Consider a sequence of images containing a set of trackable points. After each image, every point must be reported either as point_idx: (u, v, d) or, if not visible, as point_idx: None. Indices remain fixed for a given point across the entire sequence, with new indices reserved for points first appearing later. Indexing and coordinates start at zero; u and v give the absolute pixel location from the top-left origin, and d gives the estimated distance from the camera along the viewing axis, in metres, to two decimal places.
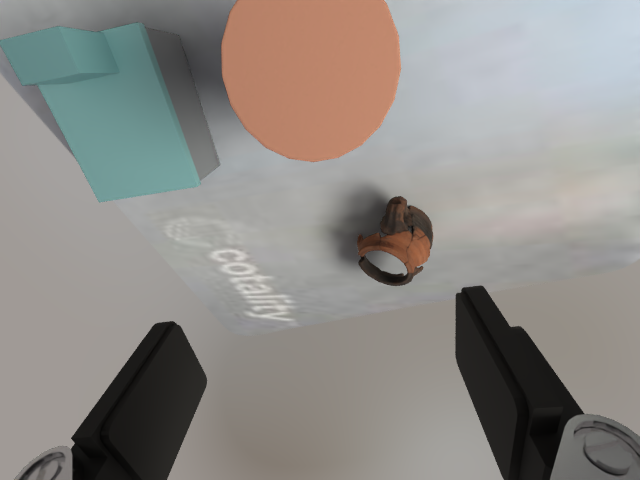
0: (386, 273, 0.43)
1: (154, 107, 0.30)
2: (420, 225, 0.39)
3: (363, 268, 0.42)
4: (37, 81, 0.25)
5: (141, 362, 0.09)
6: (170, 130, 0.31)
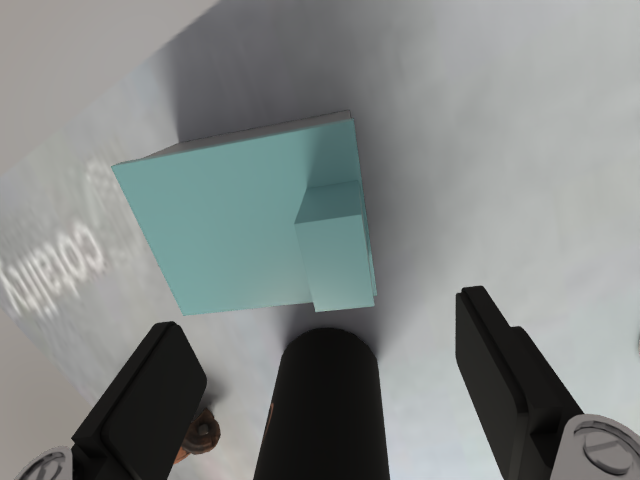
0: None
1: (281, 290, 0.22)
2: None
3: None
4: (301, 250, 0.15)
5: (141, 362, 0.09)
6: (253, 301, 0.23)
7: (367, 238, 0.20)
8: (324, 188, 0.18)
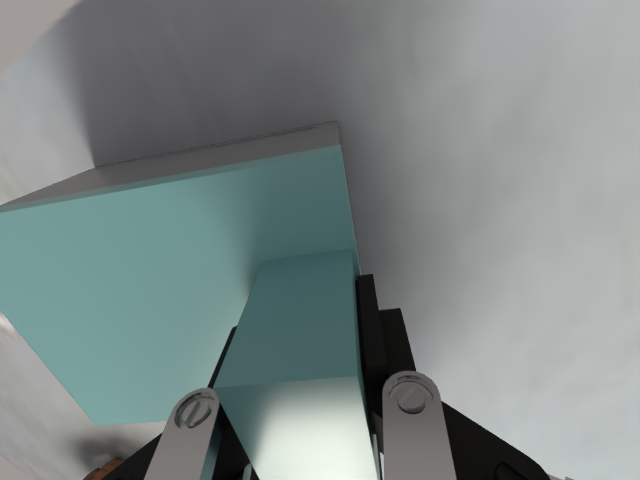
0: None
1: None
2: None
3: None
4: (236, 426, 0.07)
5: None
6: None
7: None
8: (292, 265, 0.10)
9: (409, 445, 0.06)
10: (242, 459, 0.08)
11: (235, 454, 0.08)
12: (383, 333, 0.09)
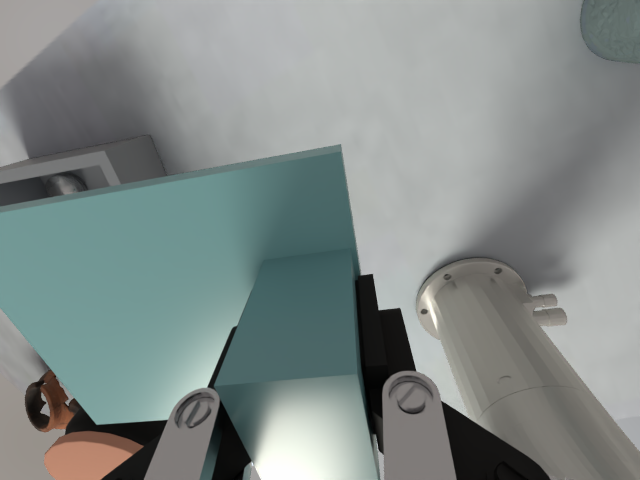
0: (38, 395, 0.48)
1: None
2: None
3: (31, 387, 0.46)
4: (236, 424, 0.07)
5: None
6: None
7: None
8: (292, 265, 0.10)
9: (409, 445, 0.06)
10: (242, 458, 0.08)
11: (235, 454, 0.08)
12: (383, 333, 0.09)
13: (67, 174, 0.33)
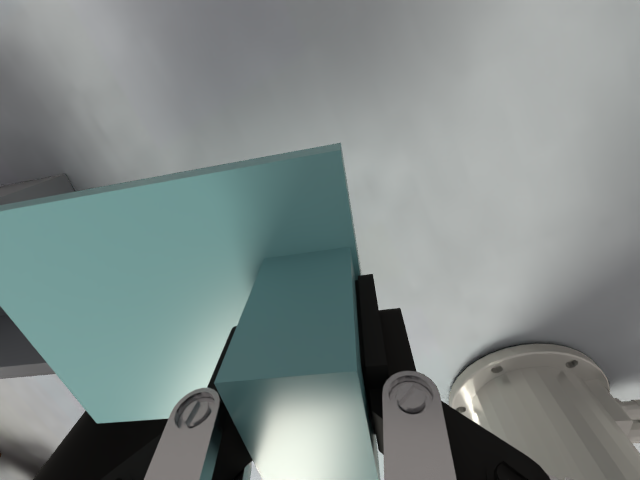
0: None
1: None
2: None
3: None
4: (236, 421, 0.07)
5: None
6: None
7: None
8: (292, 263, 0.10)
9: (409, 445, 0.06)
10: (242, 458, 0.08)
11: (235, 454, 0.08)
12: (383, 333, 0.09)
13: None
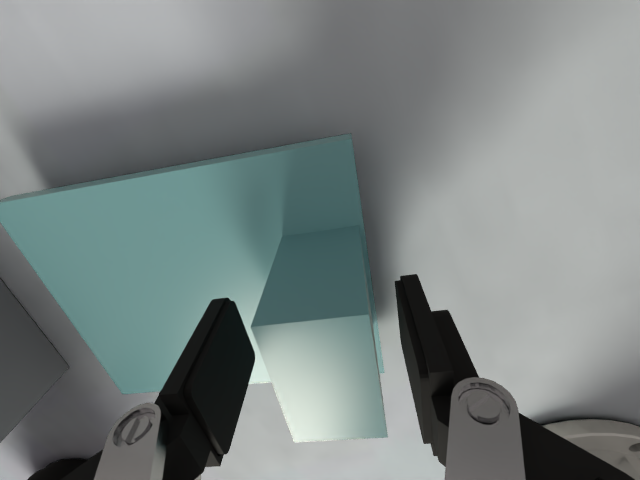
0: None
1: None
2: None
3: None
4: (267, 363, 0.09)
5: (207, 332, 0.10)
6: None
7: (371, 303, 0.14)
8: (308, 239, 0.12)
9: (476, 455, 0.06)
10: (186, 475, 0.08)
11: (183, 463, 0.08)
12: None
13: None
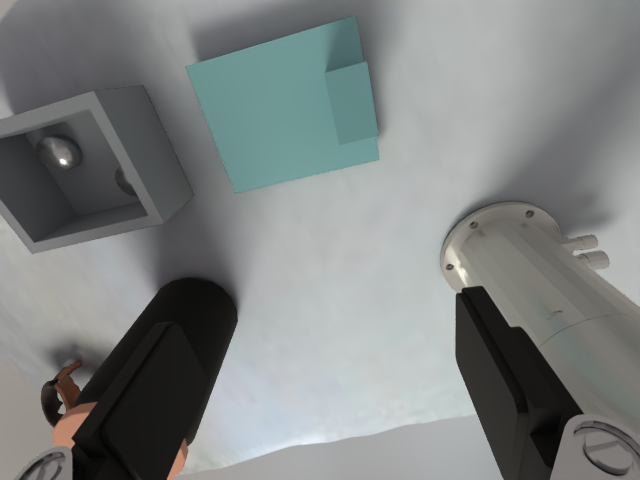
0: (54, 395, 0.47)
1: (308, 162, 0.30)
2: None
3: (45, 386, 0.45)
4: (329, 93, 0.23)
5: (141, 362, 0.09)
6: (288, 174, 0.31)
7: None
8: None
9: None
10: None
11: None
12: None
13: (59, 136, 0.30)
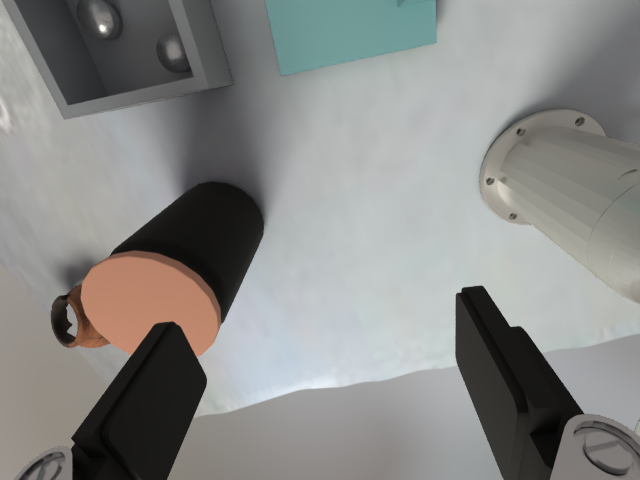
0: (64, 314, 0.46)
1: (362, 41, 0.29)
2: None
3: (56, 301, 0.43)
4: None
5: (141, 362, 0.09)
6: (339, 56, 0.29)
7: None
8: None
9: None
10: None
11: None
12: None
13: None
